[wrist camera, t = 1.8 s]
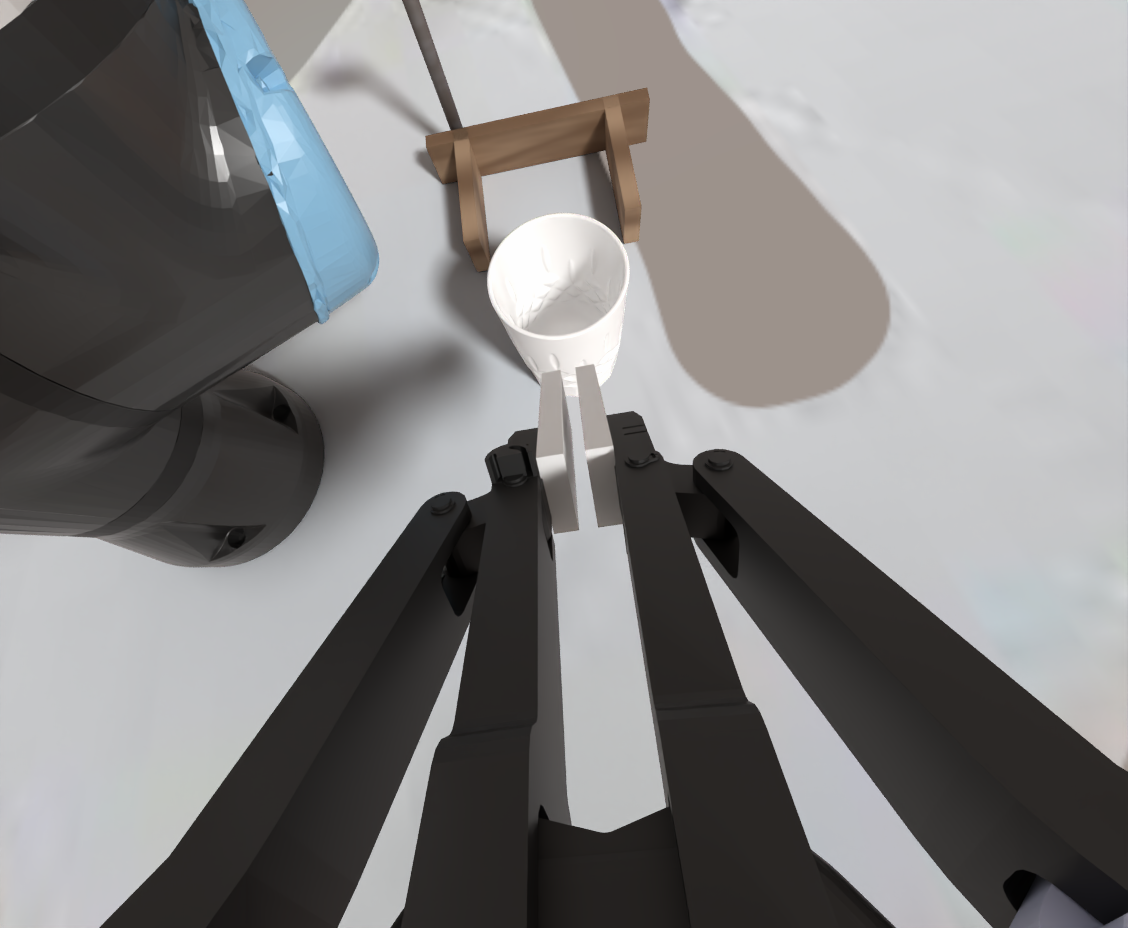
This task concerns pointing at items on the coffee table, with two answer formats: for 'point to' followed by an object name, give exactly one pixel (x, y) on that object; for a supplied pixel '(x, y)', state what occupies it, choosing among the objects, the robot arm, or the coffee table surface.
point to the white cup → (561, 294)
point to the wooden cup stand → (531, 145)
